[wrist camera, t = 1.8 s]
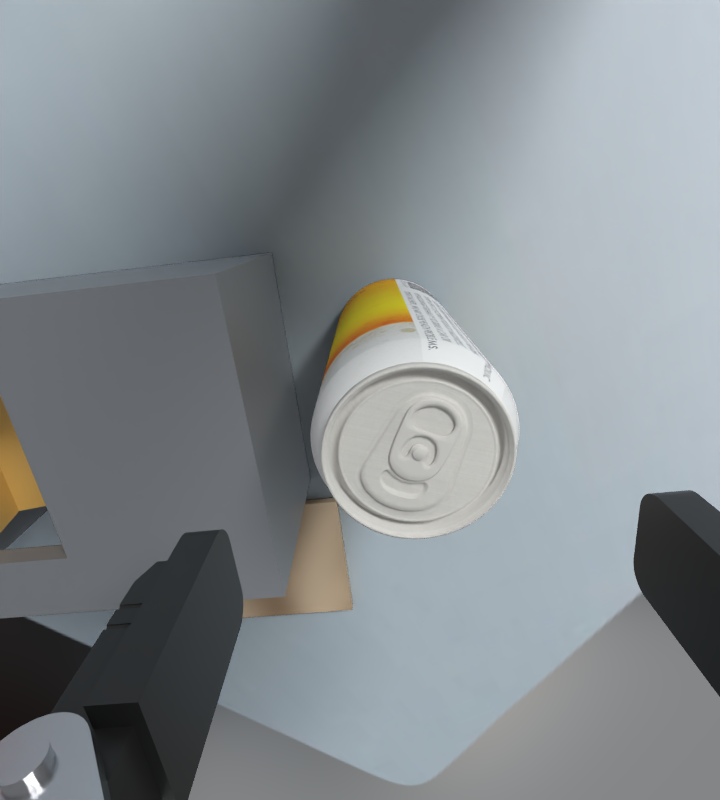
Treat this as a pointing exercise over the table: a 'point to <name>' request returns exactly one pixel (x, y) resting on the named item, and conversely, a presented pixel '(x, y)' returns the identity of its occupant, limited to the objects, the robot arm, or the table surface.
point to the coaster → (312, 568)
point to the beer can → (411, 417)
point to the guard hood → (150, 427)
